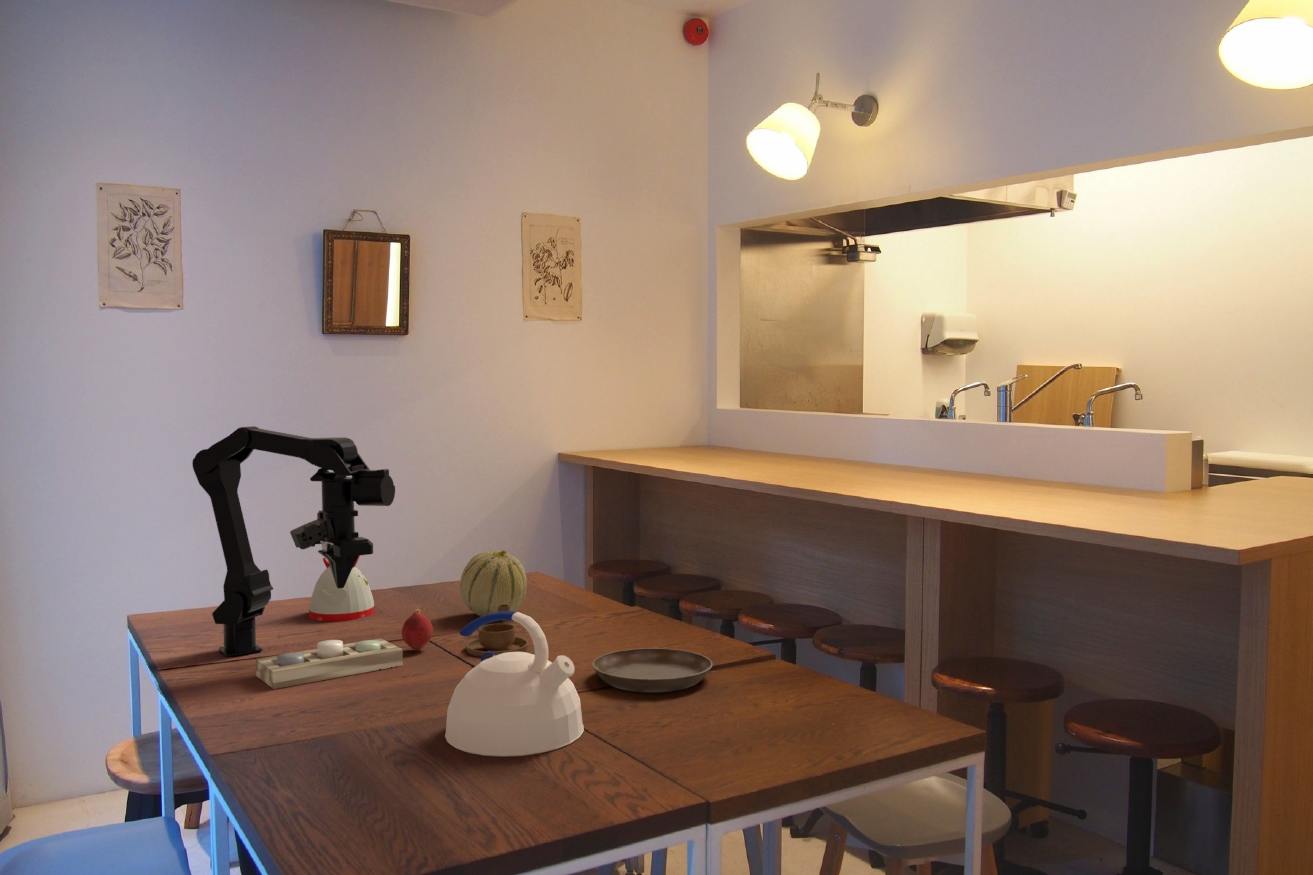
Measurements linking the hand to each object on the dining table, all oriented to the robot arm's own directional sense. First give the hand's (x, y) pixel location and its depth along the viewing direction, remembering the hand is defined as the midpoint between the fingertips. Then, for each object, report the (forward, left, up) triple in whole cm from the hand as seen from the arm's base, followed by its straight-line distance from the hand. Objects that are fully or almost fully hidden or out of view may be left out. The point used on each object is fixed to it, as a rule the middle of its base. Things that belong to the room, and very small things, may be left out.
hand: (340, 588), depth 193 cm
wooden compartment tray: (+8, -5, -13) cm, 16 cm away
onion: (+5, +13, -13) cm, 19 cm away
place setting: (+12, +29, -14) cm, 34 cm away
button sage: (+8, +2, -12) cm, 14 cm away
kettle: (+57, +5, -13) cm, 59 cm away
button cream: (+8, -5, -10) cm, 14 cm away
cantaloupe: (-11, +38, -13) cm, 42 cm away
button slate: (+8, -12, -12) cm, 19 cm away
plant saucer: (+48, +37, -14) cm, 62 cm away
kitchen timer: (-35, +13, -13) cm, 40 cm away
